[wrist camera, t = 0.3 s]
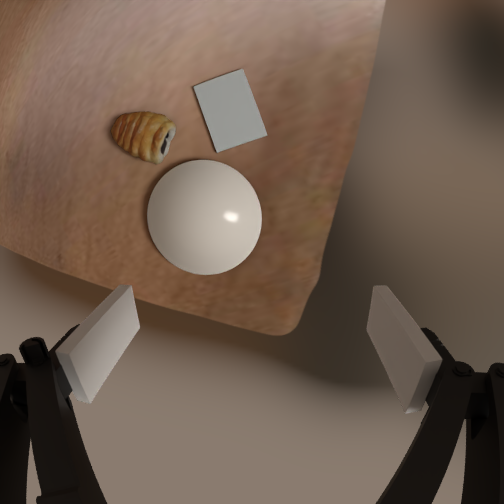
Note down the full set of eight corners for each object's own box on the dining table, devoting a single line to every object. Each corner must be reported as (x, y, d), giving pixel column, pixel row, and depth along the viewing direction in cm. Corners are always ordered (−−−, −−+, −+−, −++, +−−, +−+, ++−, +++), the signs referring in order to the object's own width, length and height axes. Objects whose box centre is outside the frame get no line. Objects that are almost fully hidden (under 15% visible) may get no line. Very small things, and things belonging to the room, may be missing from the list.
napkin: (194, 87, 36) (193, 86, 35) (242, 69, 35) (242, 68, 34) (217, 152, 39) (216, 152, 38) (267, 135, 38) (267, 135, 37)
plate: (140, 172, 40) (137, 173, 39) (252, 150, 38) (251, 150, 37) (164, 277, 45) (161, 280, 43) (269, 264, 43) (269, 267, 42)
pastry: (111, 147, 39) (98, 147, 35) (125, 104, 37) (113, 101, 33) (165, 165, 40) (155, 166, 36) (181, 120, 38) (173, 117, 34)
